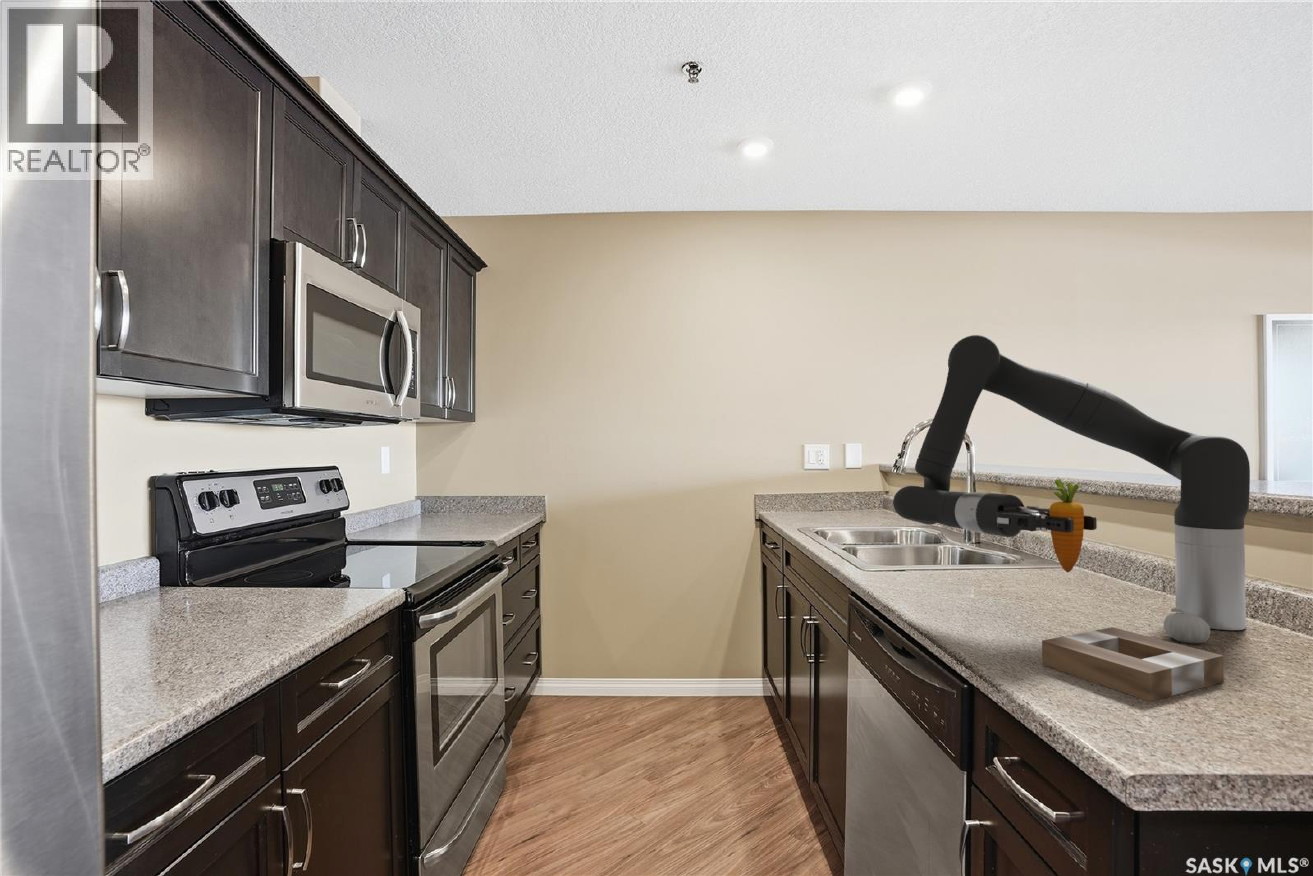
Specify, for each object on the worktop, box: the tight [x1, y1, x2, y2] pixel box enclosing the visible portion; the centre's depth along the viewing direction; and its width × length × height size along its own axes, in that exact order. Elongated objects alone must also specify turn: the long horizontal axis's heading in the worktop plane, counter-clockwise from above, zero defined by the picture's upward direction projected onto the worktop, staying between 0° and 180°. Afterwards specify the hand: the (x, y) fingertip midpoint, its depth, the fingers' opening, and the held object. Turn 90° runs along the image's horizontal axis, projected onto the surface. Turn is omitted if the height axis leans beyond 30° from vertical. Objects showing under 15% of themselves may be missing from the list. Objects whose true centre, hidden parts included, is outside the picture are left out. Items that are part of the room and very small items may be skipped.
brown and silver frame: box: [1041, 626, 1225, 702], centre depth 86 cm, size 16×14×4 cm
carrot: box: [1049, 478, 1085, 573], centre depth 99 cm, size 5×5×15 cm
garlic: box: [1163, 607, 1211, 644], centre depth 100 cm, size 6×5×5 cm
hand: (1083, 524), depth 97 cm, fingers closed on carrot, 5 cm apart
